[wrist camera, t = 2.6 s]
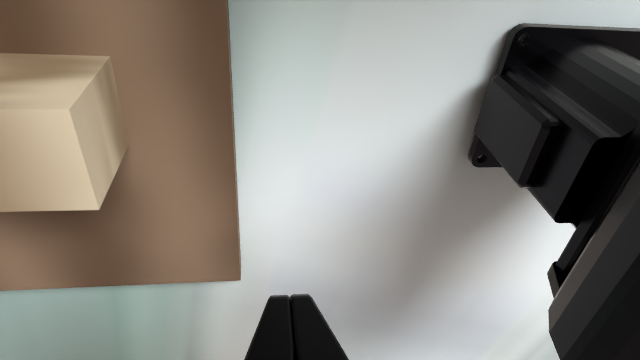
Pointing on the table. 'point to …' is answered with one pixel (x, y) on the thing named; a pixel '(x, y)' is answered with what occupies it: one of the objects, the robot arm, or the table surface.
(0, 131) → the t block
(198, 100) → the board
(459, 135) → the table surface
